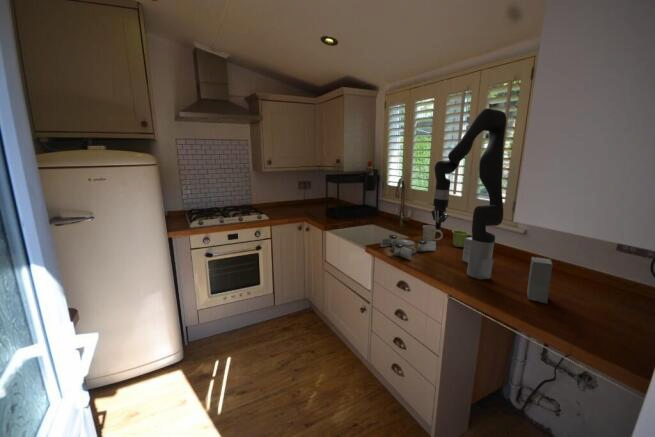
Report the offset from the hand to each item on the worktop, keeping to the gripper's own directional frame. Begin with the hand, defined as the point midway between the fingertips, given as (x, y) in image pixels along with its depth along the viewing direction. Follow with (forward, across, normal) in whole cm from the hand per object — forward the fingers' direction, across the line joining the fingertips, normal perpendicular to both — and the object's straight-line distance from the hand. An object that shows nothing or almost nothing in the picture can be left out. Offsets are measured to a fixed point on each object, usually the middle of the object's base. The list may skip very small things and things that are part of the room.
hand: (437, 228), depth 163 cm
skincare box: (+15, -53, -11) cm, 56 cm away
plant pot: (+15, +12, -24) cm, 30 cm away
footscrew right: (+14, +5, +2) cm, 15 cm away
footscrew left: (+14, -2, +21) cm, 26 cm away
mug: (+15, +21, -11) cm, 28 cm away
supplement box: (+15, -14, -13) cm, 24 cm away
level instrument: (+14, +8, +15) cm, 22 cm away
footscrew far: (+14, +16, +21) cm, 30 cm away
